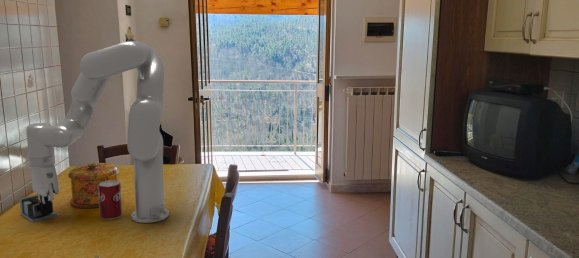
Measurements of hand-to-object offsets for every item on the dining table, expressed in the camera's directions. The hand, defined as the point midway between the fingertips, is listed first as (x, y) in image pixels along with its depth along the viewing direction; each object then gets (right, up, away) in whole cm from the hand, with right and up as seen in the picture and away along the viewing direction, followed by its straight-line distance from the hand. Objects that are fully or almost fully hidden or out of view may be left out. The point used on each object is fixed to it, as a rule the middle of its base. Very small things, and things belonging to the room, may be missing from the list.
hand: (46, 213), depth 153 cm
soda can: (+20, -2, +5) cm, 20 cm away
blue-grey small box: (-4, 0, +3) cm, 5 cm away
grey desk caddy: (-4, -2, +4) cm, 6 cm away
